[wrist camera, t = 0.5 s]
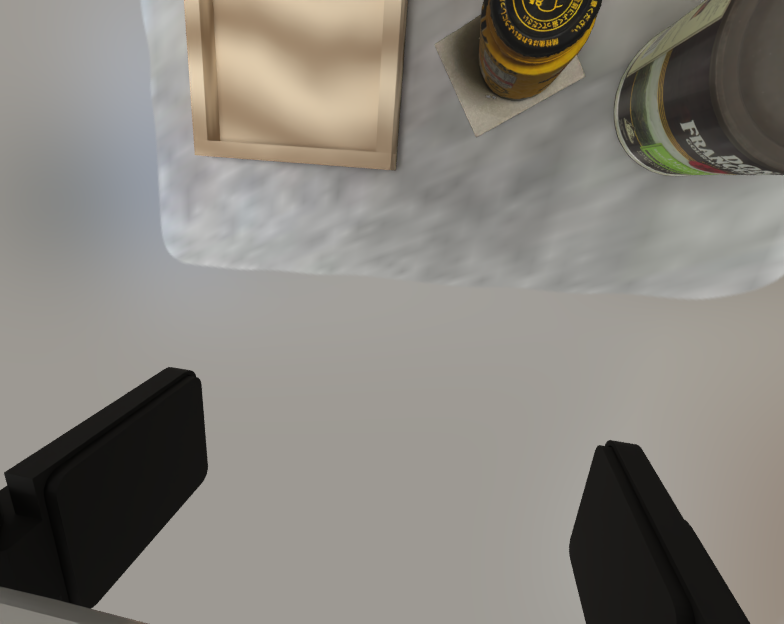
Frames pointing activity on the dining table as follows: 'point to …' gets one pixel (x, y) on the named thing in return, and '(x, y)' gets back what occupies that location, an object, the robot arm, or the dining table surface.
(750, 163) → the coffee can
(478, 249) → the dining table surface
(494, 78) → the condiment
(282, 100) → the tray
